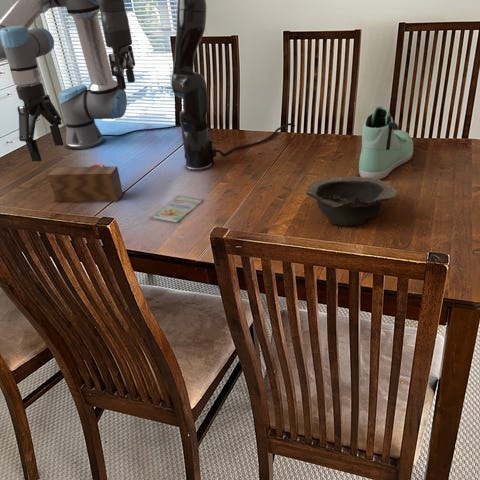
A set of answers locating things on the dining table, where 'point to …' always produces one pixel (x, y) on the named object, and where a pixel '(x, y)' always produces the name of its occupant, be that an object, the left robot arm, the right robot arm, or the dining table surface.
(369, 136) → the sneaker
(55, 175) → the box
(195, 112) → the right robot arm
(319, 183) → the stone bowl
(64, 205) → the dining table surface
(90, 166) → the candy cane
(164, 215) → the baking ingredient package
